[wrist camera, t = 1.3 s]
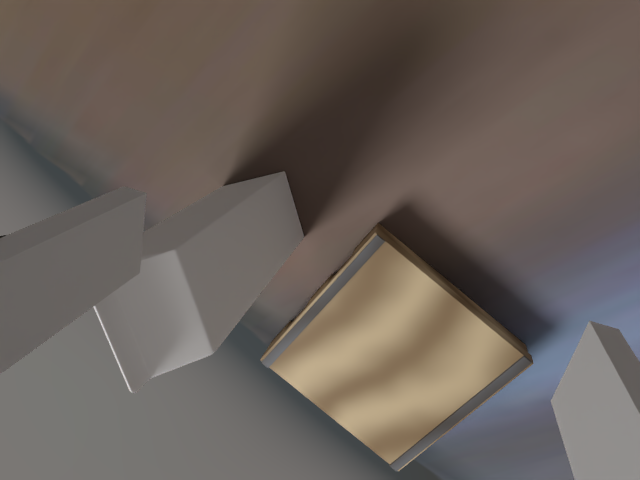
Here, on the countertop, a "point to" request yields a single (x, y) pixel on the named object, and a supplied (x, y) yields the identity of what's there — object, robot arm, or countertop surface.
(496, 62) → the countertop surface
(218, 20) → the countertop surface
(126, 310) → the milk
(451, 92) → the countertop surface
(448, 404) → the dock
